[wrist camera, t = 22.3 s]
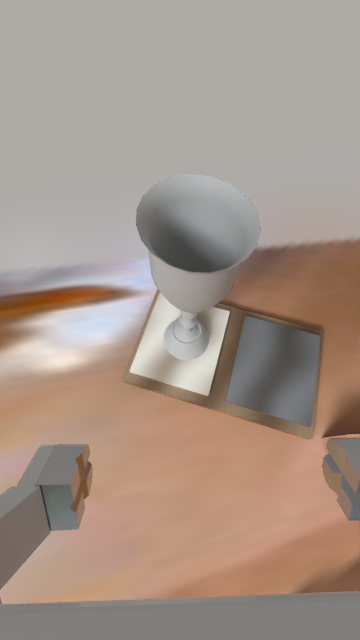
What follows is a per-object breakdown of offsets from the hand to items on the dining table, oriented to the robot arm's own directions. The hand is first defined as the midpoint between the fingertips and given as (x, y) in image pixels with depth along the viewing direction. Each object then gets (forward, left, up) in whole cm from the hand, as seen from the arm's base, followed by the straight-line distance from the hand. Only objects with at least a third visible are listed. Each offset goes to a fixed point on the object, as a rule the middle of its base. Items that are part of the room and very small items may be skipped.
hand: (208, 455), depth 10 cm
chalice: (-3, +11, -20) cm, 23 cm away
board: (+1, +11, -21) cm, 24 cm away
